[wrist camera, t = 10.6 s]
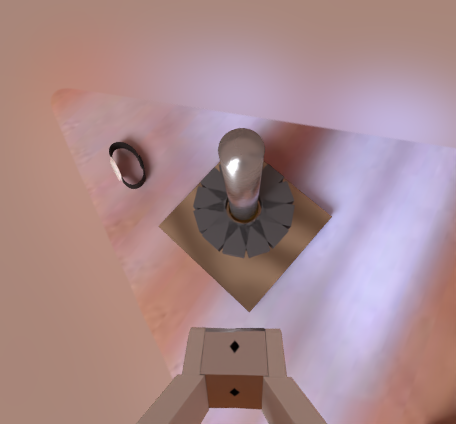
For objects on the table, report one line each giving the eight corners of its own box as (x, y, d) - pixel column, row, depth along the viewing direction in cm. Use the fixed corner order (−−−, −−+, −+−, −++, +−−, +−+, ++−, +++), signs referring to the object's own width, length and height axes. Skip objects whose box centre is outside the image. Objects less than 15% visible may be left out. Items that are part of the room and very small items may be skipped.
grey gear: (240, 148, 39) (239, 140, 37) (310, 206, 36) (314, 201, 35) (177, 213, 37) (173, 209, 35) (247, 277, 35) (247, 277, 33)
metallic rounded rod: (243, 204, 44) (239, 115, 21) (261, 220, 44) (278, 147, 20) (226, 222, 44) (204, 151, 20) (245, 238, 43) (243, 185, 20)
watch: (106, 156, 50) (96, 146, 46) (133, 141, 50) (124, 130, 46) (127, 196, 48) (118, 189, 44) (155, 181, 48) (148, 173, 45)
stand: (239, 147, 48) (239, 141, 46) (328, 219, 45) (331, 216, 43) (162, 228, 46) (158, 226, 44) (249, 310, 43) (249, 312, 41)
